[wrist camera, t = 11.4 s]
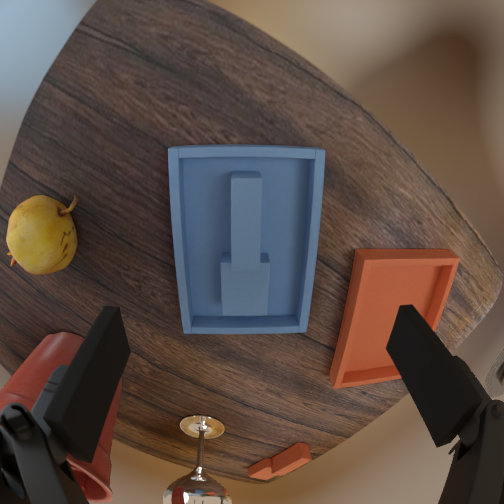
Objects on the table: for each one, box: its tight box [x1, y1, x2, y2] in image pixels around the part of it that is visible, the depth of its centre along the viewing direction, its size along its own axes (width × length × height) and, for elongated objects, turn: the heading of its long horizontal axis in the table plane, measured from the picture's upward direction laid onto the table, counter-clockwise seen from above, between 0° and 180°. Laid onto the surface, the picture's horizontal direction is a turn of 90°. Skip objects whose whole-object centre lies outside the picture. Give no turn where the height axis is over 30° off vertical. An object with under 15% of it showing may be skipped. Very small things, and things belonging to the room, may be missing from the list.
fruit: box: [6, 195, 78, 275], centre depth 22 cm, size 7×7×10 cm
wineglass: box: [163, 415, 232, 504], centre depth 29 cm, size 8×8×18 cm
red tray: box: [329, 249, 460, 389], centre depth 30 cm, size 12×17×2 cm
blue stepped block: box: [220, 171, 270, 316], centre depth 24 cm, size 12×4×3 cm, turn 179°
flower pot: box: [0, 332, 123, 502], centre depth 25 cm, size 16×16×16 cm
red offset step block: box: [249, 442, 312, 480], centre depth 41 cm, size 12×4×3 cm, turn 143°
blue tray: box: [168, 144, 325, 334], centre depth 25 cm, size 12×17×2 cm
